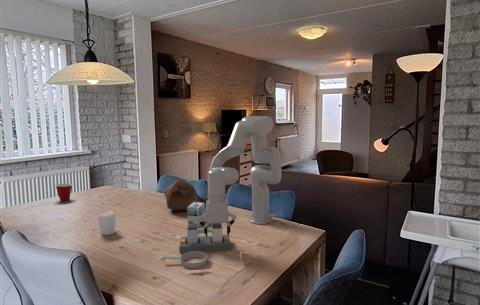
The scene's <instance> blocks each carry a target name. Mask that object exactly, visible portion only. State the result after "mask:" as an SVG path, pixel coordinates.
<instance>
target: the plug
mask: <svg viewBox="0 0 480 305" xmlns="http://www.w3.org/2000/svg"><path fill="white" fill-rule="evenodd" d="M211 228H212V231H211V235H212V243H218V242H222V235H223V226H222V223H216V224H212V225H211Z"/></svg>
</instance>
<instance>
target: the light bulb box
mask: <svg viewBox="0 0 480 305" xmlns="http://www.w3.org/2000/svg"><path fill="white" fill-rule="evenodd" d="M186 211H187V212H186V213H187V226H188V225H191V224H197V226H198V227H199V226H202V225H201V224H200V223H199V221H198V217H199V216H201V215H203V214H205V213H206V208H205V203H200V202H193V203H192V204H191V205H190V206H188V207H187V210H186ZM201 220H202V221H203V222H204V223H205V222H206V217H204V218H203V219H201Z"/></svg>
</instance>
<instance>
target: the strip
mask: <svg viewBox="0 0 480 305" xmlns="http://www.w3.org/2000/svg"><path fill="white" fill-rule="evenodd" d="M178 248H179V249H178V250H179V254H185V253H187V252H191V251H201V252H204V253H207V252H208V253H209V252H210V253H211V252H227V251H231V249H232V248H231V239H230V235H229V236H228V235H227V234H225V235H224V234H222V242H218V243H212V236H209V235H207V237H206V235H198V244H187V236H182V237H180V242H179V247H178Z"/></svg>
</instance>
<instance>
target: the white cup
mask: <svg viewBox="0 0 480 305" xmlns="http://www.w3.org/2000/svg"><path fill="white" fill-rule="evenodd" d="M98 222H99V228H100V229H99V230H100V234H101V235H102V236H109V235H113V234H115V233H116V212H114V211H104V212H101V213H99V214H98Z"/></svg>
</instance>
